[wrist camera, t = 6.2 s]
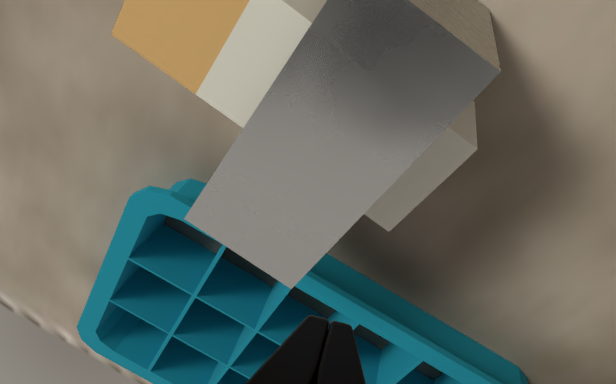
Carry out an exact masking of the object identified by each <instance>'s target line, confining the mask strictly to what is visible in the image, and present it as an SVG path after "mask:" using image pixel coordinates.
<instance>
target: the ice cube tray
mask: <svg viewBox="0 0 616 384" xmlns="http://www.w3.org/2000/svg"><path fill="white" fill-rule="evenodd" d="M205 186H206V183H203V182H200V181H197V180H193V179H188V180H184V181H180V182H177V183H175V184H174V185H173V186H172V187H171V188H170V189H169V190H167V189H162V188H157V187H153V186H148V187H146V188H144V189H142V190H139V191H137V192H135V193H133V194H132V195H131V196H130V197H129V200H128V202H127V205H126V207H125V210H124V212H123V215H122V217H121V220H120V222H119V224H118V227H117V229H116V232H115V234H114V237H113V239H112V242H111V244H110V247H109V249H108V252H107V254H106V256H105V259H104V261H103V264H102V266H101V269H100V271H99V274H98V276H97V279H96V281H95V284H94V286H93V288H92V291H91V293H90V296H89V298H88V301H87V303H86V306H85V308H84V311H83V313H82V315H81V318H80V320H79V323H78V325H77V329H78V331H79V334H80V336H81V339H82V340H83V341H84V342H85V343H86V344H87V345H88V346H89V347H91V348H92V349H93V350H94V351H95V352H96V353H98V354H100V355H102V356H104V357H106V358H107V359H109V360H111V361H113V362H115V363H117V364H118V365H120V366H122V367H124V368H126V369H128V370H129V371H131V372H133V373H135V374H137V375H139V376H140V377H142V378H144V379H146V380H148V381H150V382H151V383H153V384H245V383H246V382H247V381H248V380H249V379H250V378H251V377H252V376H253V375H254V374H255V372H256V371H257V370H258V369H259V368H260V367H261V366H262V365H263V364H264V363H265V362H266V361H267V359H268V358H269V357H270V356H271V355H272V354H273V353H274V352H275V351H276V350H277V349H278V347H279V346H280V345H281V344H282V343H283V342H284V341H285V340H286V339H287V338H288V337H289V336H290V334H291V333H292V332H293V331H294V330H295V329H296V328H297V327H298V326H299V325H300V324H301V323H302V321H303V320H304V319H305V318H306V317H307V316H309V315H314V316H318V317H322V318H325V317H324V316H322V315H320V314H319V313H317V312H315V311H313V310H312V309H310V308H308V307H306V306H305V305H303V304H301V303H300V302H298V301H296V300H294V299H293V298H291V297H289V296H287V294H288V293H289V292H290V290H291V289H290V288H289V287H287V286H286V285H284V284H283V283H281V282H279V281H278V280H277V282H276V283H275V284H274V286H273V287H272V286H270V285H268V284H267V283H265V282H263V281H262V280H260V279H258V278H256V277H255V276H253V275H251V274H249V273H248V272H246V271H244V270H243V269H241V268H239V267H237V266H236V265H234V264H232V263H230V262H229V261H227V260H225V259H224V258H222V257H221V255H222V254H223V252H224V250H225V249H226V246H225V245H223V244H222V243H221V244H222V246H221V248H220V249H219V251H218V253H217V254H215V253H213V252H211V251H210V250H208V249H206V248H205V247H203V246H201V245H199V244H198V243H196V242H194V241H192V240H191V239H189V238H187V237H186V236H184V235H182V234H180V233H179V232H177V231H175V230H173V229H172V228H170V227H168V226H167V225H165V224H163V223H164V221H165V219H166V217H167V216H169V217H172V218H175V219H178V220H181V221H183V222H185V223H186V224H188V225H190V226H191V227H193V228H195V229H197V230H198V231H200V232H202V233H204V234H205V235H207V236H209V235H208V234H206V233H205V232H203V231H202V230H200V229H199V228H197V227H196V226H194V225H193V224H191V223H190V222H188V221H187V220H185V219H184V218H185V216H186V215H187V213H188V212H189V210H190V209H191V207H192V206H193V204H194V203H195V201H196V200H197V198H198V197H199V195H200V194H201V192H202V190H203V189H204V187H205ZM209 237H210V238H212V239H214V238H213V237H211V236H209ZM214 240H216V239H214ZM216 241H217V240H216ZM217 242H219V241H217ZM219 243H220V242H219ZM295 287H297V288H298V289H300V290H302V291H303V292H305V293H307V294H309V295H310V296H312V297H314V298H316V299H317V300H319V301H321V302H322V303H324V304H326V305H328V306H329V307H331V308H333V309H335V311H334V312H333V313H332V314H331V315H330V317H329V318H328V320H329V324H330V322H331V321H338V322H342V323H346V324H349V325H351V327H352V329H353V330H354V329H355V328H356V327H357V326H358V325H359V324H360V325H362V326H364V327H366V328H367V329H369V330H371V331H372V332H374V333H376V334H378V335H379V336H381V337H383V338H384V339H386V340H388V341H390V342H389V343H388V344H387V345H386V346H385V347H384V348H383V349H382V350H381V349H379V348H377V347H376V346H374V345H372V344H370V343H369V342H367V341H365V340H364V339H362V338H360V337H358V336H357V335H355V334H354V337H355V341H356V345H357V349H358V353H359V357H360V361H361V365H362V369H363V373H364V378H365V382H366V384H528V381H527V377H526V376H525V375H524V373H523V372H522V371H521V370H520V369H519V367H518V366H516V365H514V364H513V363H511V362H509V361H508V360H506V359H504V358H502V357H501V356H499V355H497V354H496V353H494V352H492V351H491V350H489V349H487V348H486V347H484V346H482V345H480V344H479V343H477V342H475V341H474V340H472V339H470V338H469V337H467V336H465V335H464V334H462V333H460V332H458V331H457V330H455V329H453V328H452V327H450V326H448V325H447V324H445V323H443V322H442V321H440V320H438V319H437V318H435V317H433V316H431V315H430V314H428V313H426V312H425V311H423V310H421V309H420V308H418V307H416V306H415V305H413V304H411V303H409V302H408V301H406V300H404V299H403V298H401V297H399V296H398V295H396V294H394V293H393V292H391V291H389V290H387V289H386V288H384V287H382V286H381V285H379V284H377V283H376V282H374V281H372V280H371V279H369V278H367V277H366V276H364V275H362V274H360V273H359V272H357V271H355V270H354V269H352V268H350V267H349V266H347V265H345V264H344V263H342V262H340V261H338V260H337V259H335V258H333V257H332V256H330V255H328V254H327V253H326V254H325V255H324V256H323V257H322V258H321V259H320V260H319V261H318V262H317V263H316V264H315V265H314V266H313V267H312V268H311V269H310V270H309V271H308V272H307V273H306V275H305V276H304V277H303V278H302V279H301V280H300V281H299V282H298V283H297V284H296V285H295ZM326 319H327V318H326ZM328 328H329V327H328ZM423 361H424V362H426V363H428V364H429V365H431V366H433V367H434V368H436V369H438V370H440V371H441V372H443V374H441V375H440V376H439V377H438V378H436V379H435V380H433V379H431V378H429V377H427V376H426V375H424V374H422V373H421V372H419V371H417V370H415V369H414V368H415V367H417V366H418V365H419V364H420V363H421V362H423Z"/></svg>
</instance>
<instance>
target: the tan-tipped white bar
mask: <svg viewBox="0 0 616 384" xmlns="http://www.w3.org/2000/svg"><path fill="white" fill-rule="evenodd" d="M326 1H327V0H125V2H124V4H123V6H122V9H121V11H120V14H119V16H118V18H117V21H116V23H115V26H114V28H113V30H112V33H111V34H112V35H113V36H114V37H116V38H117V39H119V40H120V41H121V42H123V43H124V44H126V45H127V46H128V47H130V48H131V49H133V50H134V51H135V52H137V53H138V54H140V55H141V56H142V57H144V58H145V59H147V60H148V61H149V62H151V63H152V64H154V65H155V66H157V67H158V68H159V69H161V70H162V71H164V72H165V73H166V74H168V75H169V76H171V77H172V78H173V79H175V80H176V81H178V82H179V83H180V84H182V85H183V86H185V87H186V88H187V89H189V90H190V91H192V92H193V93H194V94H196V95H197V96H199V97H200V98H201V99H203V100H204V101H206V102H207V103H208V104H210V105H211V106H213V107H214V108H216V109H217V110H218V111H220V112H221V113H223V114H224V115H225V116H227V117H228V118H230V119H231V120H232V121H234V122H235V123H237V124H238V125H239V126H241V127H242V128H244V126H245V125H246V123H247V122H248V120H249V119H250V117H251V116H252V114H253V113H254V111H255V110H256V108H257V107H258V105H259V103H260V102H261V100H262V99H263V97H264V96H265V94H266V93H267V91H268V90H269V88H270V87H271V85H272V84H273V82H274V81H275V79H276V78H277V76H278V74H279V73H280V71H281V70H282V68H283V67H284V65H285V64H286V62H287V61H288V59H289V58H290V56H291V55H292V53H293V52H294V50H295V49H296V47H297V45H298V44H299V42H300V41H301V39H302V38H303V36H304V35H305V33H306V32H307V30H308V29H309V27H310V26H311V24H312V23H313V21H314V20H315V18H316V16H317V15H318V13H319V12H320V10H321V9H322V7H323V6H324V4H325V3H326ZM476 150H478V148H477V132H476V116H475V101H472V102H471V103H470V104H469V105H468V107H467V108H466V109H465V110H464V111H463V112H462V113H461V114H460V115H459V116H458V117H457V118H456V119H455V120H454V121H453V122H452V123H451V124H450V125H449V126H448V127H447V128H446V129H445V130H444V131H443V132H442V133H441V135H440V136H439V137H438V138H437V139H436V140H435V141H434V142H433V143H432V144H431V145H430V146H429V147H428V148H427V149H426V150H425V151H424V152H423V153H422V154H421V155H420V156H419V157H418V158H417V159H416V160H415V161H414V163H413V164H412V165H411V166H410V167H409V168H408V169H407V170H406V171H405V172H404V173H403V174H402V175H401V176H400V177H399V178H398V179H397V180H396V181H395V182H394V183H393V184H392V185H391V186H390V187H389V188H388V189H387V191H386V192H385V193H384V194H383V195H382V196H381V197H380V198H379V199H378V200H377V201H376V202H375V203H374V204H373V205H372V206H371V207H370V208H369V209H368V210H367V211H366V212H365V213H364V215H366V216H367V217H369V218H370V219H371V220H373V221H374V222H376V223H377V224H378V225H380V226H381V227H383V228H384V229H385V230H387V231H388V232H390V231H391V230H392V229H393V228H394V227H395V226H396V225H397V224H398V223H399V222H400V221H401V220H402V219H403V218H405V217H406V216H407V215H408V214H409V213H410V212H411V211H412V210H413V209H414V208H415V207H416V206H417V205H419V204H420V203H421V202H422V201H423V200H424V199H425V198H426V197H427V196H428V195H429V194H430V193H431V192H432V191H434V190H435V189H436V188H437V187H438V186H439V185H440V184H441V183H442V182H443V181H444V180H445V179H446V178H447V177H449V176H450V175H451V174H452V173H453V172H454V171H455V170H456V169H457V168H458V167H459V166H460V165H461V164H462V163H464V162H465V161H466V160H467V159H468V158H469V157H470V156H471V155H472V154H473V153H474V152H475V151H476Z"/></svg>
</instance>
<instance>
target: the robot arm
mask: <svg viewBox="0 0 616 384" xmlns="http://www.w3.org/2000/svg"><path fill="white" fill-rule="evenodd" d="M328 327H329V328H328ZM245 384H366V382H365V378H364V373H363V369H362V365H361V361H360V357H359V353H358V349H357V345H356V341H355V337H354V332H353V329H352V327H351V325H349V324H346V323H342V322H338V321H331V322H330V324H329V320H328V319H326V318H322V317H318V316H314V315H309V316H307V317H306V318H305V319H304V320H303V321H302V323H301V324H300V325H299V326H298V327H297V328H296V329H295V330H294V331H293V332H292V333H291V334H290V336H289V337H288V338H287V339H286V340H285V341H284V342H283V343H282V344H281V345H280V346H279V347H278V349H277V350H276V351H275V352H274V353H273V354H272V355H271V356H270V357H269V358H268V359H267V361H266V362H265V363H264V364H263V365H262V366H261V367H260V368H259V369H258V370H257V371H256V372H255V374H254V375H253V376H252V377H251V378H250V379H249V380H248V381H247V382H246V383H245Z"/></svg>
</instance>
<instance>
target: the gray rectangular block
mask: <svg viewBox="0 0 616 384" xmlns="http://www.w3.org/2000/svg"><path fill="white" fill-rule="evenodd" d="M500 72H501V69H500V64H499V59H498V53H497V48H496V43H495V37H494V32H493V27H492V22H491V16H490V11H489V9H488V8H486V7H485V6H484V5H483V4H481V3H480V2H479V1H478V0H327V1H326V3H325V4H324V6H323V7H322V9H321V10H320V12H319V13H318V15H317V16H316V18H315V20H314V21H313V23H312V24H311V26H310V27H309V29H308V30H307V32H306V33H305V35H304V36H303V38H302V39H301V41H300V42H299V44H298V45H297V47H296V49H295V50H294V52H293V53H292V55H291V56H290V58H289V59H288V61H287V62H286V64H285V65H284V67H283V68H282V70H281V71H280V73H279V74H278V76H277V78H276V79H275V81H274V82H273V84H272V85H271V87H270V88H269V90H268V91H267V93H266V94H265V96H264V97H263V99H262V100H261V102H260V103H259V105H258V107H257V108H256V110H255V111H254V113H253V114H252V116H251V117H250V119H249V120H248V122H247V123H246V125H245V126H244V128H243V129H242V131H241V132H240V134H239V136H238V137H237V139H236V140H235V142H234V143H233V145H232V146H231V148H230V149H229V151H228V152H227V154H226V155H225V157H224V158H223V160H222V161H221V163H220V165H219V166H218V168H217V169H216V171H215V172H214V174H213V175H212V177H211V178H210V180H209V181H208V183H207V184H206V186H205V187H204V189H203V190H202V192H201V194H200V195H199V197H198V198H197V200H196V201H195V203H194V204H193V206H192V207H191V209H190V210H189V212H188V213H187V215H186V216H185V218H184V219H185V220H187V221H188V222H190V223H191V224H193V225H194V226H196V227H197V228H199V229H200V230H202V231H203V232H205V233H206V234H208V235H209V236H211V237H213V238H214V239H216V240H217V241H219V242H220V243H222V244H223V245H225V246H226V247H228V248H229V249H231V250H232V251H234V252H235V253H237V254H238V255H240V256H241V257H243V258H244V259H246V260H248V261H249V262H251V263H252V264H254V265H255V266H257V267H258V268H260V269H261V270H263V271H264V272H266V273H267V274H269V275H270V276H272V277H273V278H275V279H276V280H278V281H279V282H281V283H283V284H284V285H286V286H287V287H289V288H290V289H292V288H293V287H294V286H295V285H296V284H297V283H298V282H299V281H300V280H301V279H302V278H303V277H304V276H305V275H306V273H307V272H308V271H309V270H310V269H311V268H312V267H313V266H314V265H315V264H316V263H317V262H318V261H319V260H320V259H321V258H322V257H323V256H324V255H325V254H326V253H327V252H328V251H329V250H330V249H331V248H332V247H333V245H334V244H335V243H336V242H337V241H338V240H339V239H340V238H341V237H342V236H343V235H344V234H345V233H346V232H347V231H348V230H349V229H350V228H351V227H352V226H353V225H354V224H355V223H356V222H357V221H358V220H359V219H360V217H361V216H362V215H363V214H364V213H365V212H366V211H367V210H368V209H369V208H370V207H371V206H372V205H373V204H374V203H375V202H376V201H377V200H378V199H379V198H380V197H381V196H382V195H383V194H384V193H385V192H386V191H387V189H388V188H389V187H390V186H391V185H392V184H393V183H394V182H395V181H396V180H397V179H398V178H399V177H400V176H401V175H402V174H403V173H404V172H405V171H406V170H407V169H408V168H409V167H410V166H411V165H412V164H413V163H414V161H415V160H416V159H417V158H418V157H419V156H420V155H421V154H422V153H423V152H424V151H425V150H426V149H427V148H428V147H429V146H430V145H431V144H432V143H433V142H434V141H435V140H436V139H437V138H438V137H439V136H440V135H441V133H442V132H443V131H444V130H445V129H446V128H447V127H448V126H449V125H450V124H451V123H452V122H453V121H454V120H455V119H456V118H457V117H458V116H459V115H460V114H461V113H462V112H463V111H464V110H465V109H466V108H467V107H468V105H469V104H470V103H471V102H472V101H473V100H474V99H475V98H476V97H477V96H478V95H479V94H480V93H481V92H482V91H483V90H484V89H485V88H486V87H487V86H488V85H489V84H490V83H491V82H492V81H493V80H494V79H495V77H496V76H497V75H498V74H499V73H500Z"/></svg>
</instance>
